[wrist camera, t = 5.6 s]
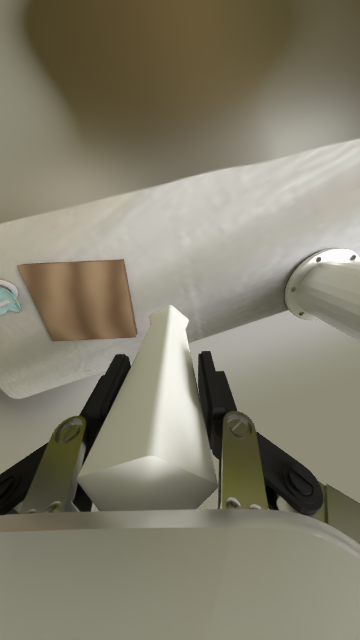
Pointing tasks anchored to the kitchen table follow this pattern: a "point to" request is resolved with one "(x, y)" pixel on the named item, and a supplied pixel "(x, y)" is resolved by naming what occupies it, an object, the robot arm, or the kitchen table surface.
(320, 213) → the kitchen table surface
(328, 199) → the kitchen table surface
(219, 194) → the kitchen table surface
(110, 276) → the walnut board
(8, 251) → the kitchen table surface
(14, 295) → the pacifier
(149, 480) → the white tall faceted piece
